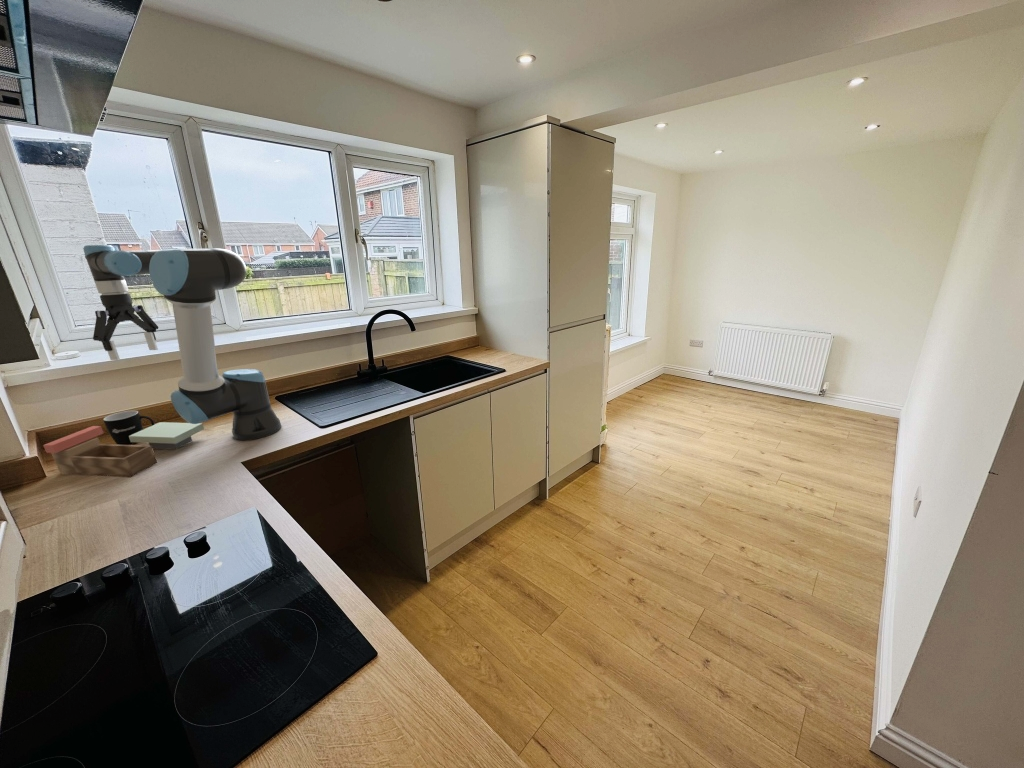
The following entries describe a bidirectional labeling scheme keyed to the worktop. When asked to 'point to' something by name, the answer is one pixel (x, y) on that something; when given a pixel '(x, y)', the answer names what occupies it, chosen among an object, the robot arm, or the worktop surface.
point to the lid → (166, 432)
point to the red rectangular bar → (73, 439)
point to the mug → (124, 426)
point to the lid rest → (170, 445)
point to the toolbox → (104, 459)
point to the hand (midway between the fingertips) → (135, 354)
